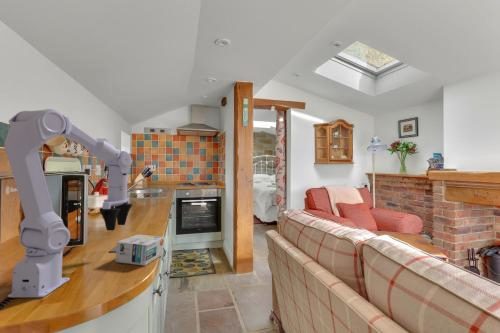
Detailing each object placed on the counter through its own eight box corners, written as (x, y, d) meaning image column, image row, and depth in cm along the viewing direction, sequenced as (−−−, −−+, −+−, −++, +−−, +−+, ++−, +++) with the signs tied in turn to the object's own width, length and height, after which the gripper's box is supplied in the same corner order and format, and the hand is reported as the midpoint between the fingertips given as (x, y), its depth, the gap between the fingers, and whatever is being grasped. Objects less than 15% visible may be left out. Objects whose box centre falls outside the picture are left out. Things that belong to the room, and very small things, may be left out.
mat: (134, 252, 89) (134, 251, 89) (108, 252, 88) (108, 251, 88) (146, 242, 101) (146, 241, 101) (124, 242, 100) (124, 241, 100)
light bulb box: (114, 262, 79) (145, 266, 77) (116, 241, 79) (146, 244, 77) (136, 252, 89) (163, 255, 87) (137, 233, 89) (164, 236, 87)
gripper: (115, 185, 90) (114, 222, 90) (92, 188, 76) (91, 232, 76) (135, 185, 91) (134, 222, 90) (116, 188, 76) (115, 233, 76)
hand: (116, 227), depth 83 cm, fingers open, 7 cm apart
